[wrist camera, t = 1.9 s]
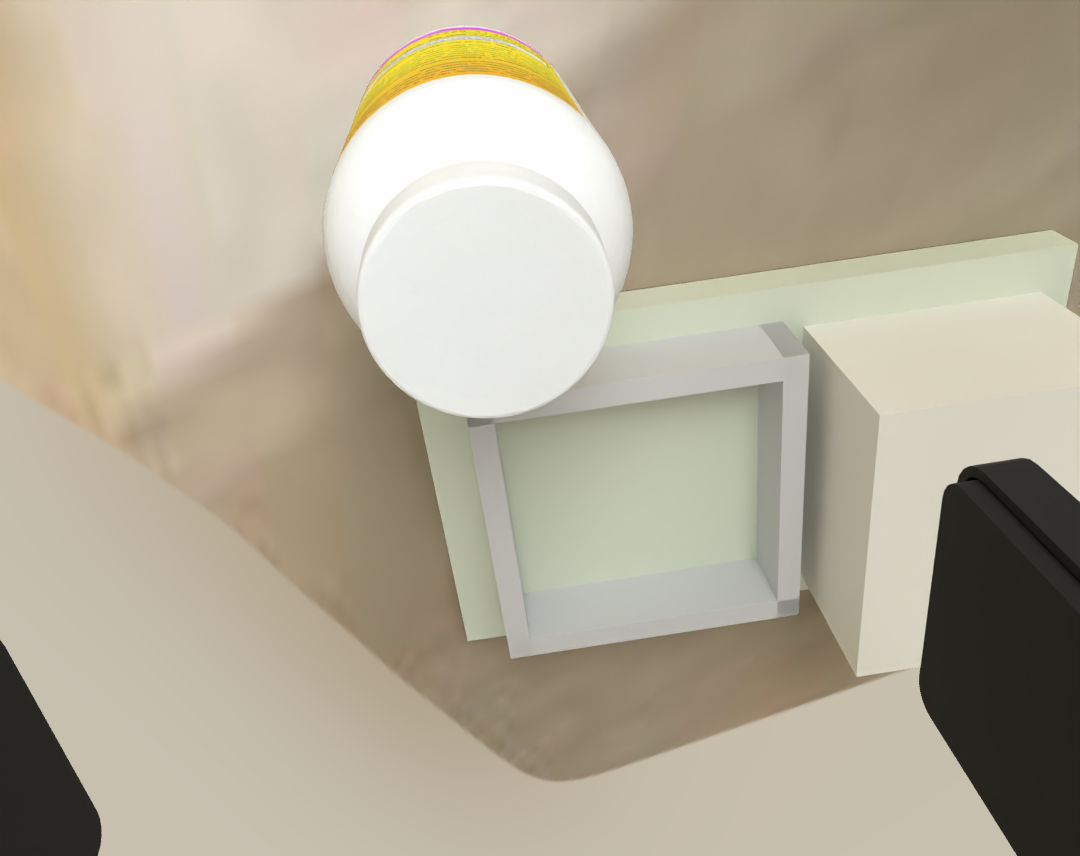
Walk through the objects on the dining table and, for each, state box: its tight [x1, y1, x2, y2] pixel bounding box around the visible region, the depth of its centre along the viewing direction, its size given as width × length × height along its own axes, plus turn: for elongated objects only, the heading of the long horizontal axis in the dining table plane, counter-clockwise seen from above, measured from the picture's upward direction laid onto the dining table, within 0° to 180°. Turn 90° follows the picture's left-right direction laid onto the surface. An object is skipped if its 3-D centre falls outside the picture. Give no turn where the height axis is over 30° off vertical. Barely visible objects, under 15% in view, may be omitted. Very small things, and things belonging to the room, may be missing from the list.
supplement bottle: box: [323, 25, 633, 419], centre depth 22 cm, size 7×7×13 cm
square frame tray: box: [416, 230, 1080, 677], centre depth 30 cm, size 22×13×8 cm, turn 97°
